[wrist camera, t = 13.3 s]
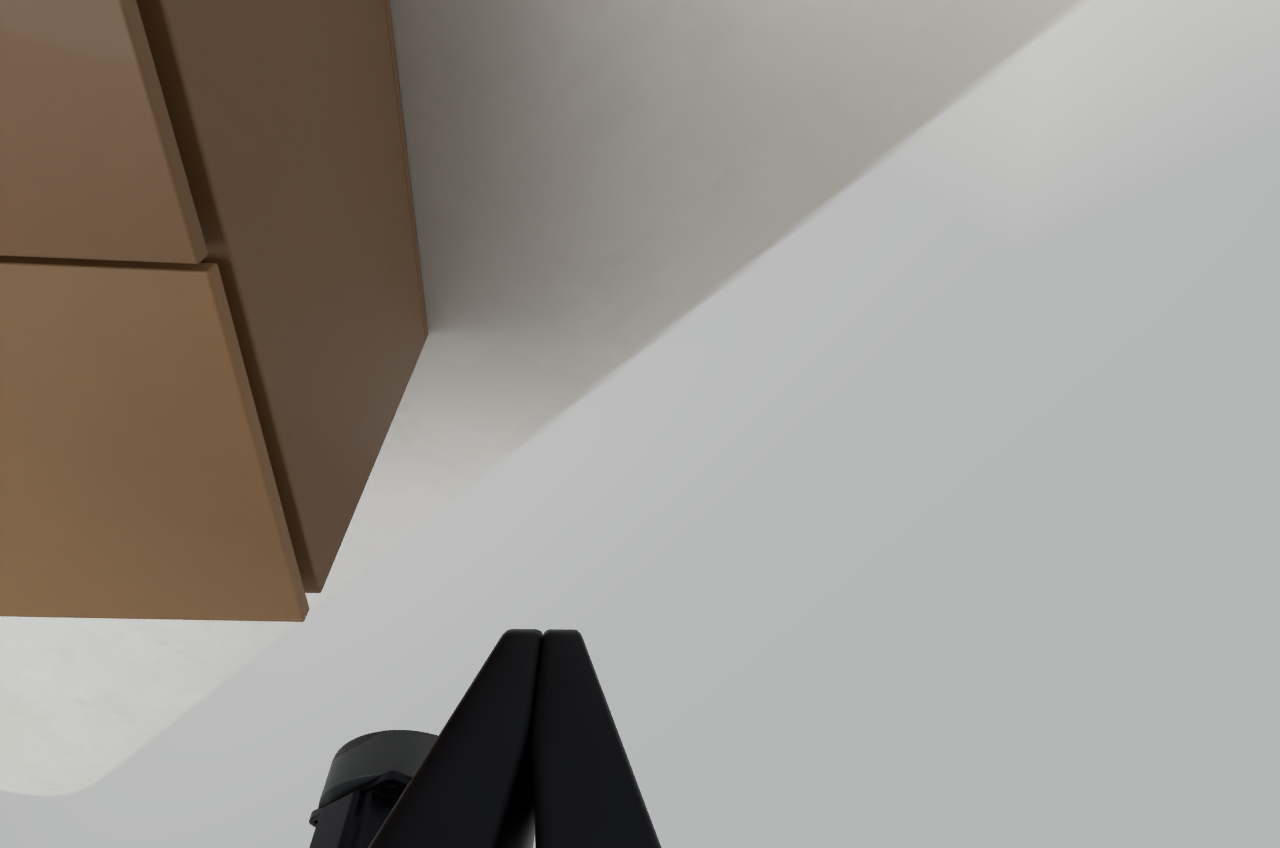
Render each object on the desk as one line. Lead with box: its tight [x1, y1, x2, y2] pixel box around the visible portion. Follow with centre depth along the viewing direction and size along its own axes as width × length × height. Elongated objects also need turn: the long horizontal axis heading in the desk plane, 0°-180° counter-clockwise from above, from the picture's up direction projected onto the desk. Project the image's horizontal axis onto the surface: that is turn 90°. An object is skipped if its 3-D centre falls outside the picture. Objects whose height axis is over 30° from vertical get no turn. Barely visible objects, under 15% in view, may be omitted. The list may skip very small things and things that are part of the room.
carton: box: [0, 0, 428, 593], centre depth 13 cm, size 13×10×10 cm
